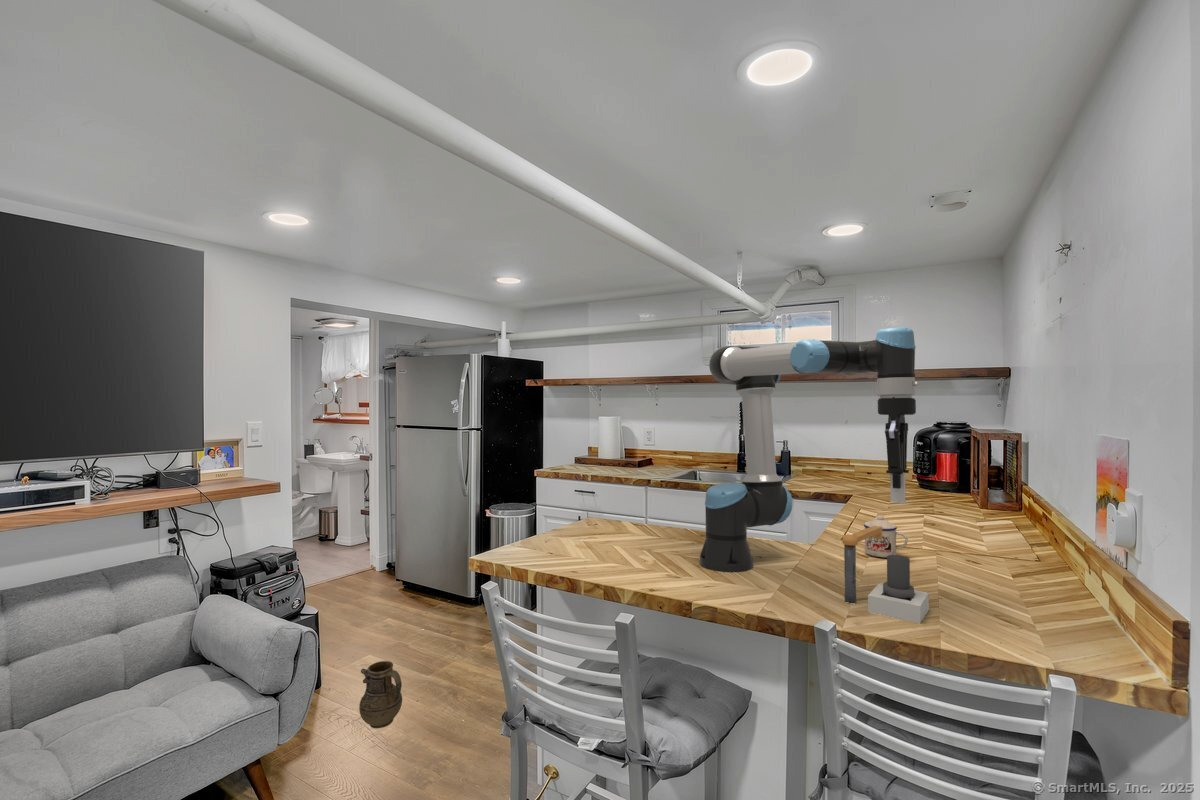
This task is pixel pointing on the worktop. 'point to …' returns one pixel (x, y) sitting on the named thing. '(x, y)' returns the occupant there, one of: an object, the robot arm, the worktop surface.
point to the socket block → (899, 605)
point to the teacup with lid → (883, 538)
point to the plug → (898, 578)
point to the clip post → (850, 573)
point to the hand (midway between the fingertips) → (898, 502)
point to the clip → (862, 535)
